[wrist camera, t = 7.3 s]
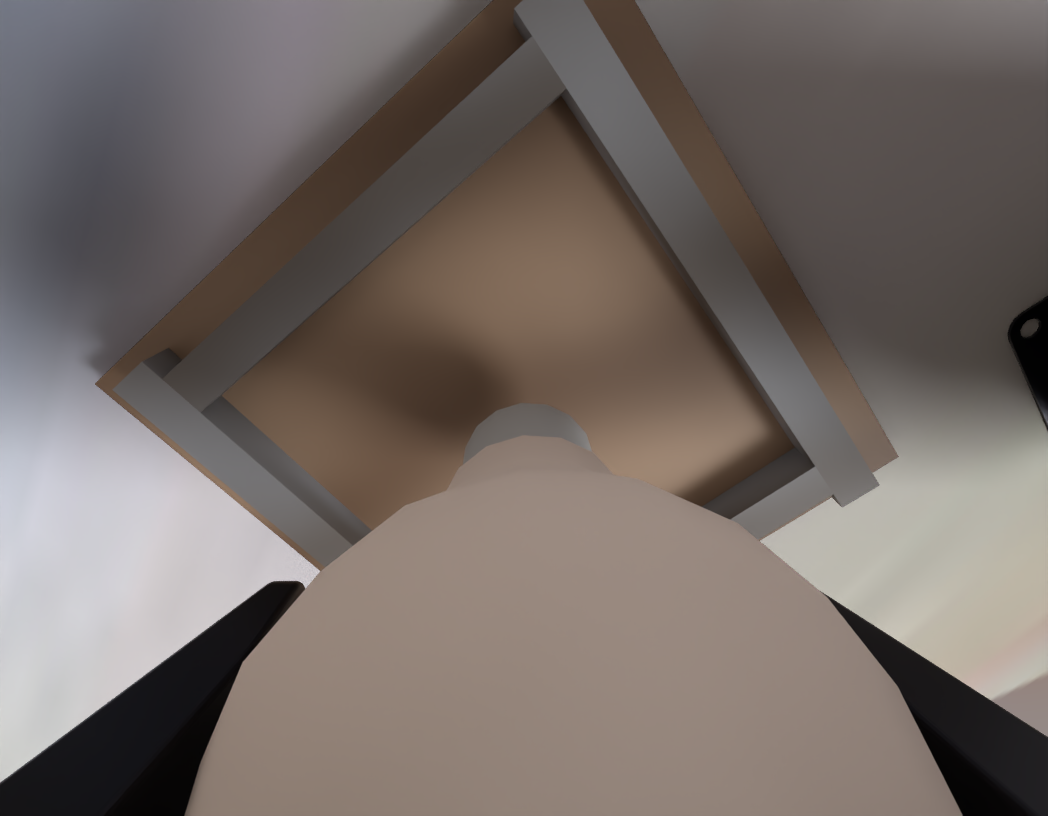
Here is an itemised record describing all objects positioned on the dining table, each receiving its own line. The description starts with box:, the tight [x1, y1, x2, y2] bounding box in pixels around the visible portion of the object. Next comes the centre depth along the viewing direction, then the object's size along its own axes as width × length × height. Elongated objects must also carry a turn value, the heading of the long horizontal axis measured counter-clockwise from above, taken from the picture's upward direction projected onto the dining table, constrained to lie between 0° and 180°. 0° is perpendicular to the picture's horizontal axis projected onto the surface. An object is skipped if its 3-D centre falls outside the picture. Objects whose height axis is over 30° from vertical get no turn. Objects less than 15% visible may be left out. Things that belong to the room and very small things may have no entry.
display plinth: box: [95, 0, 899, 571], centre depth 13 cm, size 14×14×2 cm
